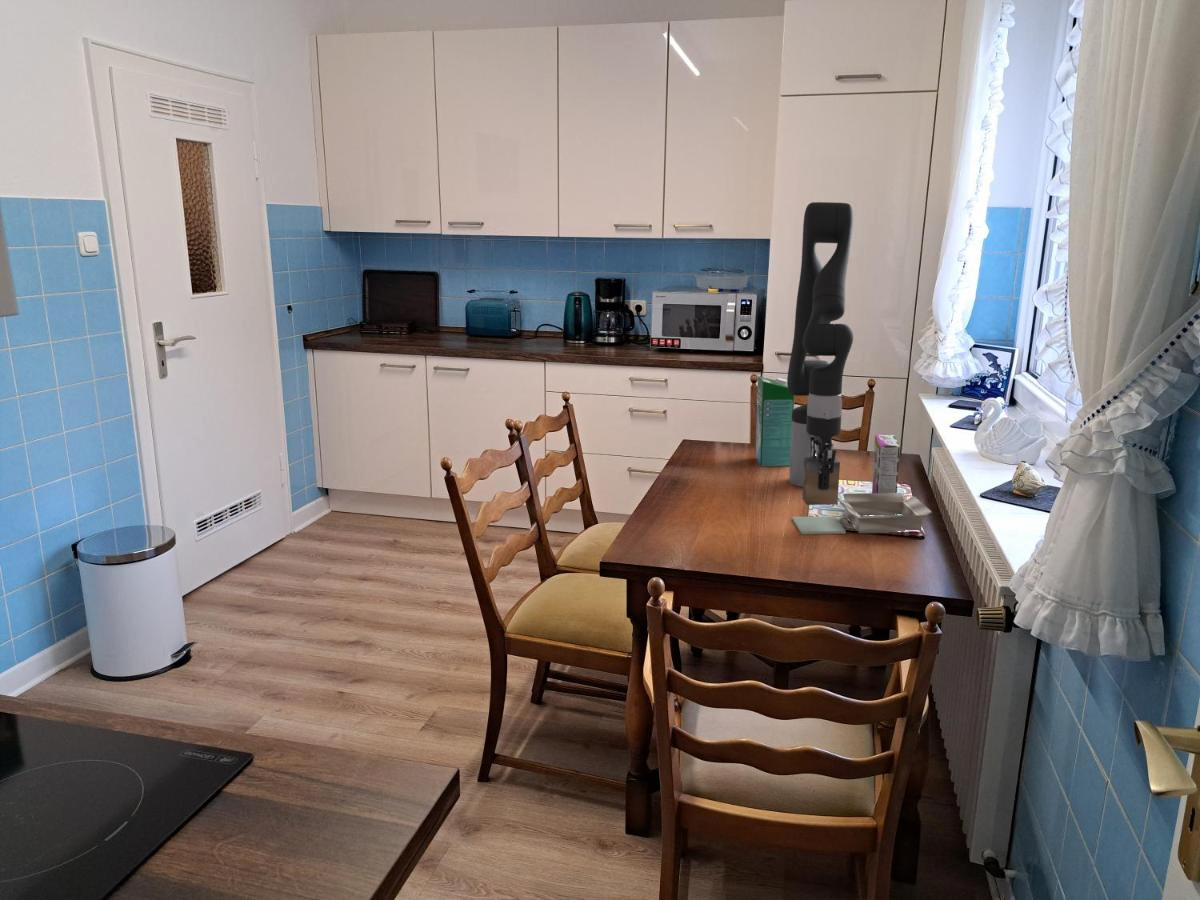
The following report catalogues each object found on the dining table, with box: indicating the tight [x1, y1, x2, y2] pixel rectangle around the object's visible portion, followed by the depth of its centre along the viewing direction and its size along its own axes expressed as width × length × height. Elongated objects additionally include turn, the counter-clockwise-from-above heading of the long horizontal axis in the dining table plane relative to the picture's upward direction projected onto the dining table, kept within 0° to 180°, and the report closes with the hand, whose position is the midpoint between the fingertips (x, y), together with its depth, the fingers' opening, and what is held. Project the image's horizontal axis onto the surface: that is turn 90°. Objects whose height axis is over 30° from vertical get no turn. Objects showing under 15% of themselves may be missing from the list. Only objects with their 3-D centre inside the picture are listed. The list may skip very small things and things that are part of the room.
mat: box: [791, 515, 847, 535], centre depth 198 cm, size 10×10×1 cm
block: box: [801, 457, 841, 506], centre depth 195 cm, size 4×7×10 cm, turn 90°
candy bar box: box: [871, 434, 901, 493], centre depth 211 cm, size 11×5×16 cm, turn 168°
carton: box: [838, 492, 932, 534], centre depth 198 cm, size 16×18×5 cm
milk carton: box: [755, 376, 795, 467], centre depth 248 cm, size 9×9×25 cm
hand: (820, 485), depth 196 cm, fingers closed on block, 4 cm apart
